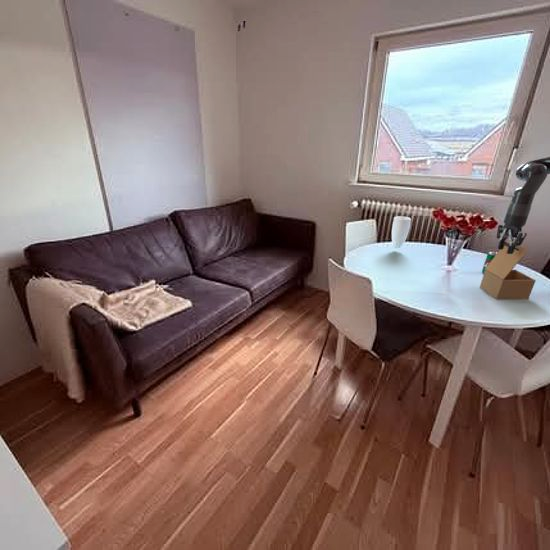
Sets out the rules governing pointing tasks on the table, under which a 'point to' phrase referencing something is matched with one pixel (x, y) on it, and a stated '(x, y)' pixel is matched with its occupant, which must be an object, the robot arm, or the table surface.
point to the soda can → (488, 259)
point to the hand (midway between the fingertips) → (504, 251)
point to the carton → (507, 285)
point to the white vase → (400, 230)
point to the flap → (506, 260)
